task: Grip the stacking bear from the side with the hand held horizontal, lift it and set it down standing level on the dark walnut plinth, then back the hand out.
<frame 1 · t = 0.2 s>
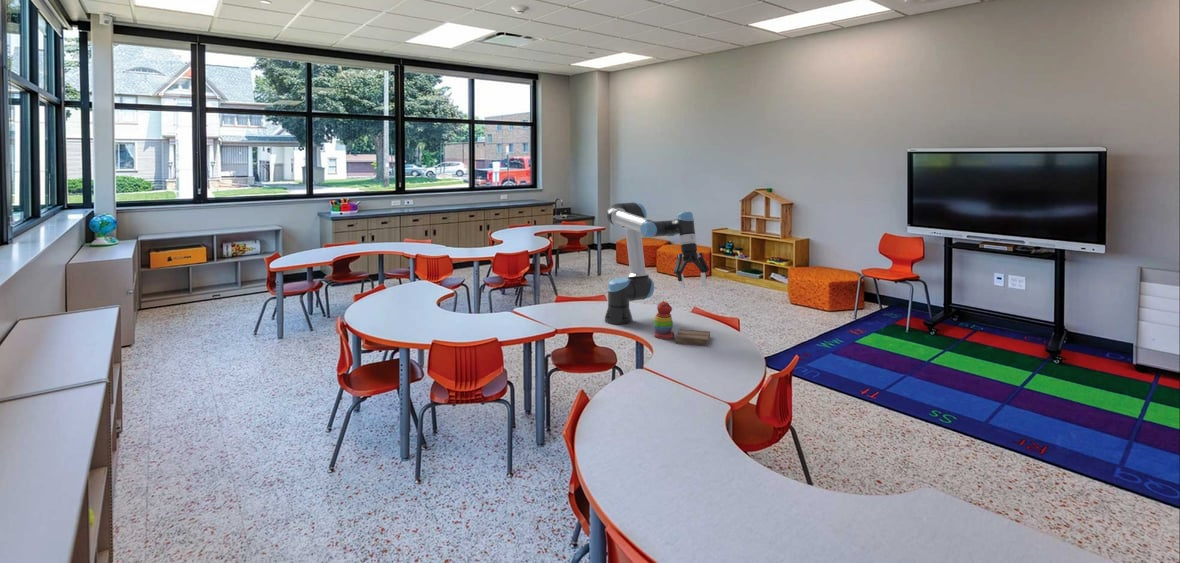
hand: (693, 287, 296), 27 cm above the table, tool tilted 15°, fingers open, 13 cm apart
stacking bear: (663, 336, 307), on the table
walnut plinth: (693, 340, 301), on the table
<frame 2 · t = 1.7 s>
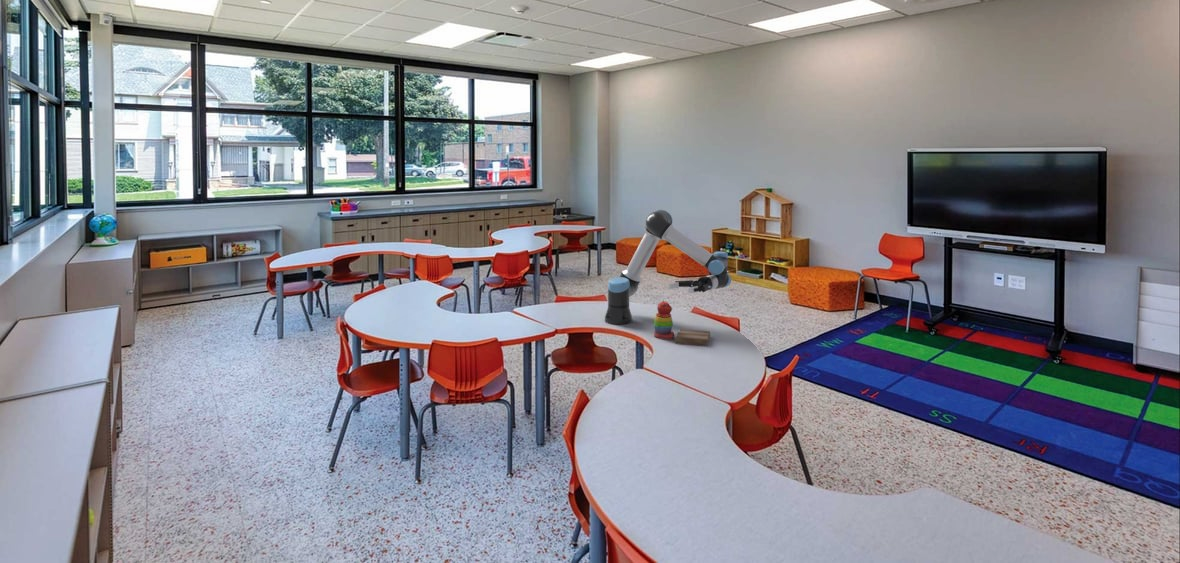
hand: (678, 288, 308), 23 cm above the table, tool horizontal, fingers open, 13 cm apart
nothing on the table moved.
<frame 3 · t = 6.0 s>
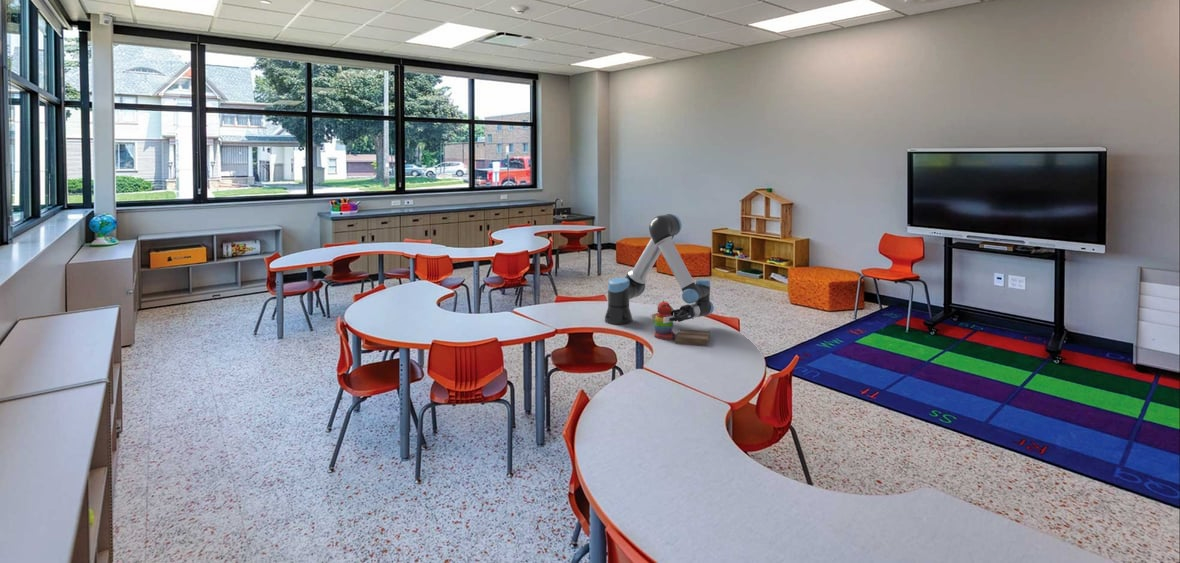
hand: (657, 318, 302), 10 cm above the table, tool horizontal, fingers closed on stacking bear, 9 cm apart
stacking bear: (663, 336, 307), on the table, touching gripper
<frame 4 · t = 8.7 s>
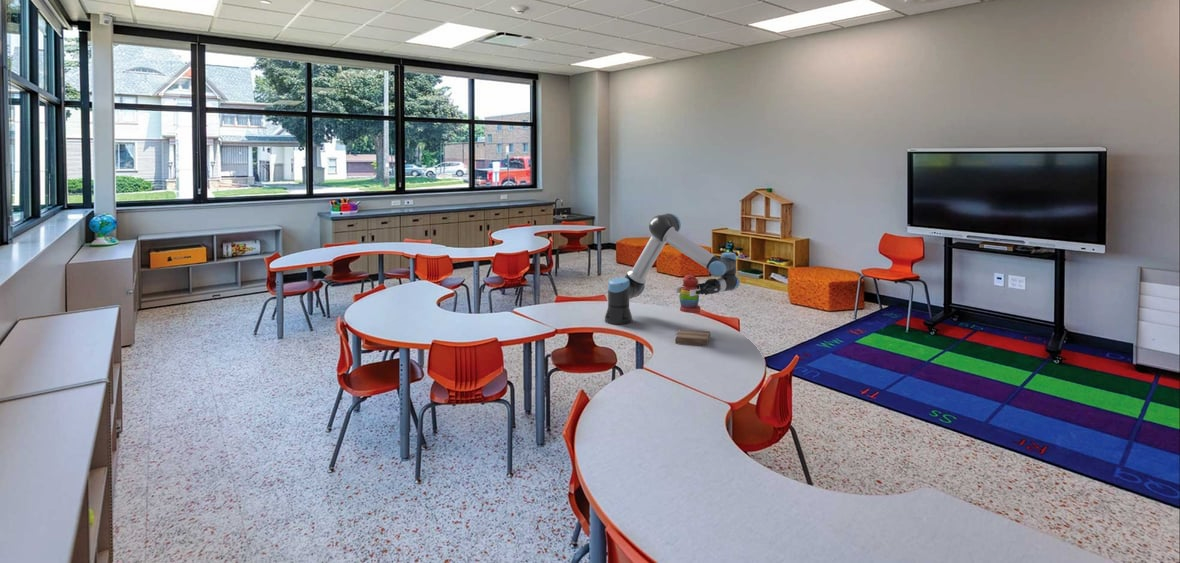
hand: (683, 291, 294), 25 cm above the table, tool horizontal, fingers closed on stacking bear, 9 cm apart
stacking bear: (689, 310, 298), point 15 cm above the table, touching gripper
when the fingers open (14 cm above the table, at t = 11.2 s): stacking bear drops 1 cm, resting on walnut plinth.
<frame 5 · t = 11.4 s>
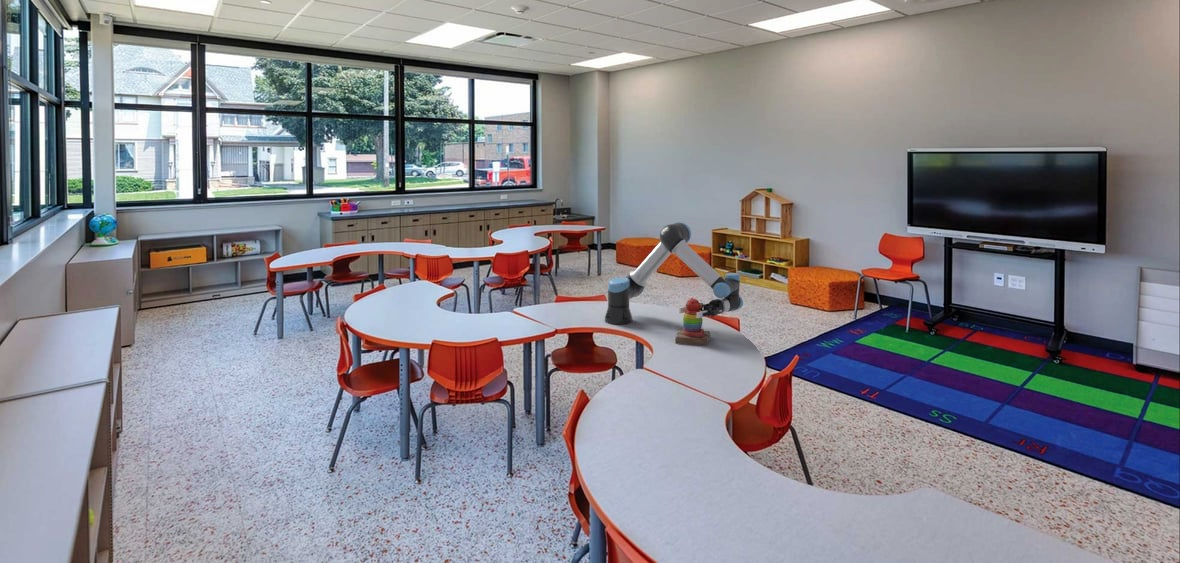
hand: (688, 312, 295), 14 cm above the table, tool horizontal, fingers open, 11 cm apart
stacking bear: (693, 334, 300), point 3 cm above the table, touching walnut plinth
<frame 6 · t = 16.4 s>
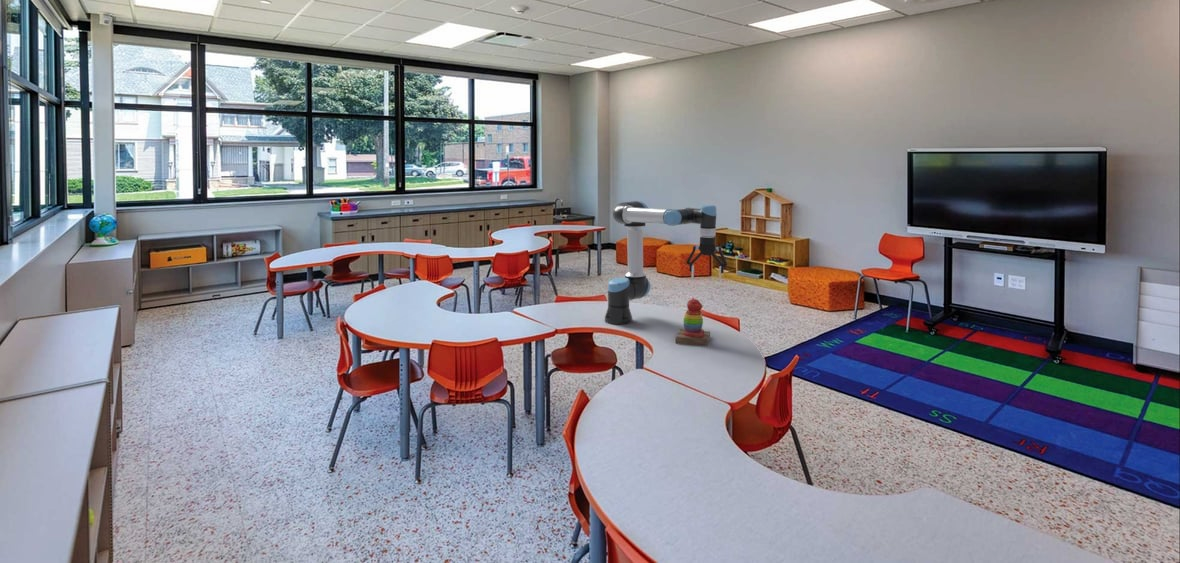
hand: (706, 278, 305), 29 cm above the table, tool pointing down, fingers open, 13 cm apart
nothing on the table moved.
at the end: stacking bear inside the target area on the walnut plinth (0.1 cm from its centre), point 2.8 cm above the walnut plinth's base; stacking bear tilted 0°; the gripper is holding nothing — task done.
